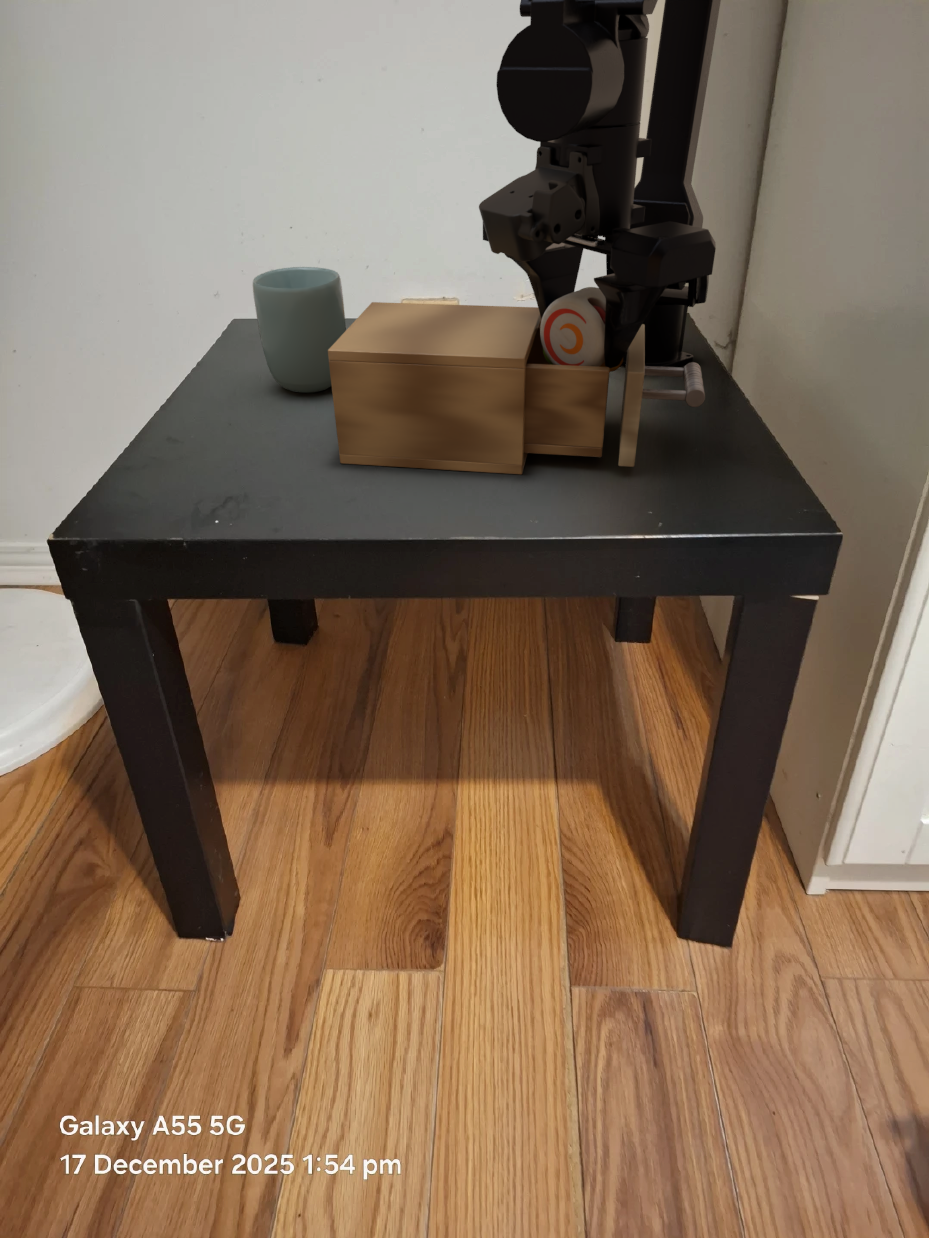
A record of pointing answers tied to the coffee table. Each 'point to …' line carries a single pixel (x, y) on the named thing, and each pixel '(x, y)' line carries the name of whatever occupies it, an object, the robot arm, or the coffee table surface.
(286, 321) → the cup
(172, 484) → the coffee table surface
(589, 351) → the roller toy
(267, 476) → the coffee table surface
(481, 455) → the cabinet
